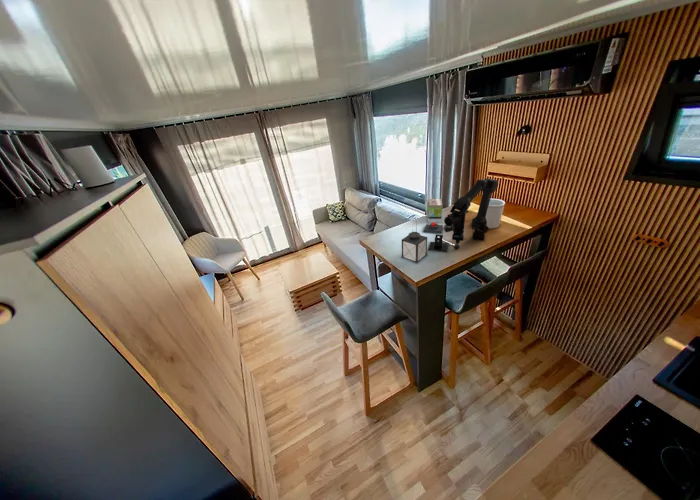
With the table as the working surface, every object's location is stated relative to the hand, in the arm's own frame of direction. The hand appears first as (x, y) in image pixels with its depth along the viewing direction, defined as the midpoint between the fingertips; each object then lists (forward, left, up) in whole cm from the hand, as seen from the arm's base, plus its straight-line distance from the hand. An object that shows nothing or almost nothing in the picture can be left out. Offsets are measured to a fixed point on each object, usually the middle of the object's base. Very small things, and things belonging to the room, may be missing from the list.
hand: (457, 243), depth 158 cm
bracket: (+11, 0, -4) cm, 12 cm away
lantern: (+24, +14, -4) cm, 28 cm away
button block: (+17, -25, -4) cm, 31 cm away
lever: (+6, 0, -2) cm, 6 cm away
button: (+17, -25, -1) cm, 30 cm away
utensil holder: (-20, -40, -4) cm, 45 cm away
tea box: (+19, -45, -4) cm, 49 cm away
